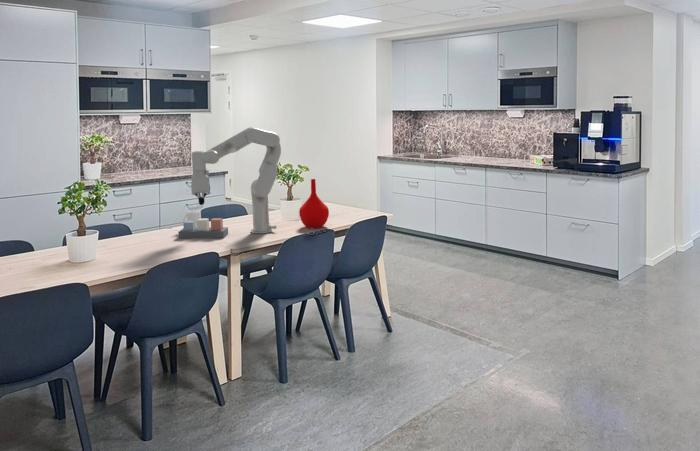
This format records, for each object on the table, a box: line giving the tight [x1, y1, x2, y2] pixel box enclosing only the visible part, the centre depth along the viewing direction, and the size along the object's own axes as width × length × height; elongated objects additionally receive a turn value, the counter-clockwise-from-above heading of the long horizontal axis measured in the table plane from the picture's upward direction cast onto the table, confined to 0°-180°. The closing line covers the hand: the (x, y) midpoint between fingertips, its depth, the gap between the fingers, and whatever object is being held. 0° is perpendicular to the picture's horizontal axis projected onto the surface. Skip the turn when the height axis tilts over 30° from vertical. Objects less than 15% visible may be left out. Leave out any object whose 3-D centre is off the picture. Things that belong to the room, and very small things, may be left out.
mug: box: [183, 209, 202, 228], centre depth 370 cm, size 12×8×12 cm
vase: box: [298, 178, 330, 229], centre depth 376 cm, size 18×18×30 cm
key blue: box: [182, 220, 196, 231], centre depth 355 cm, size 6×6×6 cm
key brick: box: [210, 217, 224, 230], centre depth 354 cm, size 6×6×6 cm
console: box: [177, 226, 229, 240], centre depth 355 cm, size 26×12×4 cm, turn 89°
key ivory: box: [197, 217, 210, 231], centre depth 354 cm, size 6×6×6 cm
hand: (201, 204), depth 352 cm, fingers closed
